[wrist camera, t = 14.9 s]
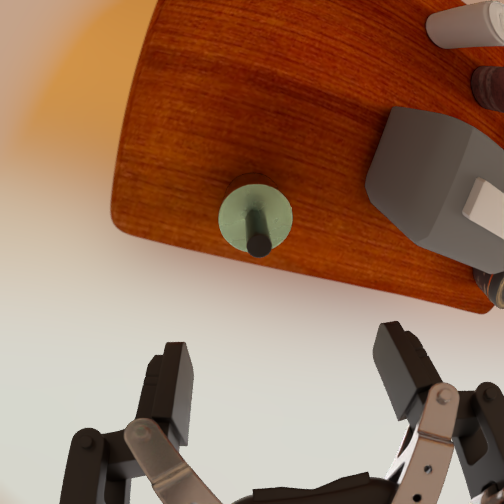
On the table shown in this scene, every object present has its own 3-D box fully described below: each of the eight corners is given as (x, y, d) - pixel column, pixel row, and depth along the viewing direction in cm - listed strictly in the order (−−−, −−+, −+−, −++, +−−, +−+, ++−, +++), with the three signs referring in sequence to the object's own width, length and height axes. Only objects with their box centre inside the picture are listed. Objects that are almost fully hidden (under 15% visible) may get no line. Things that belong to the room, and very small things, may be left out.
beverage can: (426, 46, 25) (493, 39, 15) (420, 10, 23) (483, -7, 12) (455, 51, 25) (522, 51, 15) (450, 18, 23) (514, 8, 12)
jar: (484, 291, 43) (507, 317, 36) (460, 271, 40) (486, 299, 34) (515, 248, 39) (540, 270, 32) (494, 221, 36) (525, 244, 30)
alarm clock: (475, 160, 32) (558, 201, 18) (444, 231, 37) (512, 294, 23) (383, 104, 29) (474, 121, 15) (350, 193, 34) (414, 260, 20)
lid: (223, 250, 32) (220, 287, 26) (215, 184, 28) (208, 208, 22) (291, 244, 32) (303, 280, 26) (290, 178, 28) (303, 201, 22)
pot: (227, 227, 36) (225, 249, 31) (221, 175, 33) (218, 189, 28) (280, 223, 36) (287, 244, 31) (278, 170, 33) (286, 184, 28)
